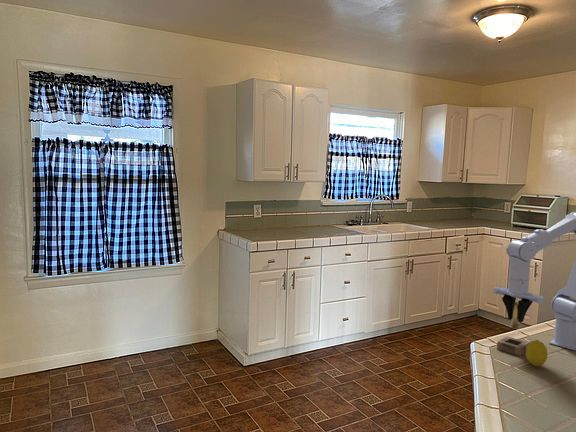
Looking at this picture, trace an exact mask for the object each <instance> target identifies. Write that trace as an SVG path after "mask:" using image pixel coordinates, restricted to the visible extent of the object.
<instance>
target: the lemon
mask: <svg viewBox="0 0 576 432" xmlns="http://www.w3.org/2000/svg"><path fill="white" fill-rule="evenodd" d="M525 357H526V360H527V361H528V362H529V363H530V364H531V365H533V367H535V368H537V367H538V366H543V365H544V364H545V363H546V362H547V359H548V349H547V347H546V345H545V344H544V342H542V341H540V340H539V339H536V340H532V341H530V342H529V344H528V345H527V348H526V352H525Z"/></svg>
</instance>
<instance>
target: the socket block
mask: <svg viewBox="0 0 576 432" xmlns="http://www.w3.org/2000/svg"><path fill="white" fill-rule="evenodd" d="M529 343H530V342H529V341H524V340H522V339H521V340H520V339H518V338H514V337H512V336H505V337H503V338H501V339H499V340H497V345H496V350H499V351H503V352H506V353H509V354H512V355H515V356H519V357H520V356H522V355H524V354H526V348H527V345H528V344H529Z"/></svg>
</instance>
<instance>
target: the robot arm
mask: <svg viewBox="0 0 576 432" xmlns="http://www.w3.org/2000/svg"><path fill="white" fill-rule="evenodd" d="M571 232H572V233H573V234H574V235H575V236H576V211H572V212H570V213H569V214H566V215H565V217H564V218H563V219H561V220H560V221H559V222H557V223H555V224H554V225H552V226H550V227H549V228H547V229H538V228H537V229H535V230H533V232H532V233H530V234H529V235H527V236H522V237H521V239H520V240H518V239H515V240H512V241H511V242H509V244H508V246H507V247H506V249H505V251H506V254H507V256H508V261H509V270H508V283H507V288H505V287H500V286H495V287H493V290H492V291H493V294H494V295H497V294H498V295H502V296H503V297H502V298H501V300H502V302H503V304H504V306H505V308H506V309H505V310H506V314H507V318H508V320H509V321H511V319H512V306H513V302H518V304H519V317H518V322H520V323H522V322H524V320H525V316H526V314H527V312H528V310H529V308H530V307H531V305H532V304H533V302H534V303H537V304H539V305H542V304H543V303H544V300H545V299H544V296H542V295H537V294H534V293H532V292H529V285H530V273H531V271H530V270H531V261H532V260H533V259H534V258H535V257H536V254H538V253H540V252H541V251H542V250H544V249H546V248H548V247H549V246H552V244H553V240H555V239H558V238H559V237H561V236H564V235H566V234H568V233H571ZM517 299H519V300H518V301H516V300H517ZM550 308H551V310H552V311H553V313H554V316H555V324H554V338H553V339H551V340H550V341H549V342H548V343H549V344H551V345H554V346H558V347H561V348H565V349H568V350H573V351H576V259H575V260H574V263H573V265H572V269H571V271H570V274H569V277H568V279H567V283H566V285H565V287H562V288H561V289H558V290H557V292H556V295H555V296H554V297H553V298H552V300H551V302H550Z"/></svg>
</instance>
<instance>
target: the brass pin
mask: <svg viewBox="0 0 576 432" xmlns="http://www.w3.org/2000/svg"><path fill="white" fill-rule="evenodd" d="M518 317H519V304H518V301H515V302H513V306H512V319H511V320H510V321H511V322H510V328H512V329H513V330H514V329H515V330H520V328H521V322H518Z"/></svg>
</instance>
